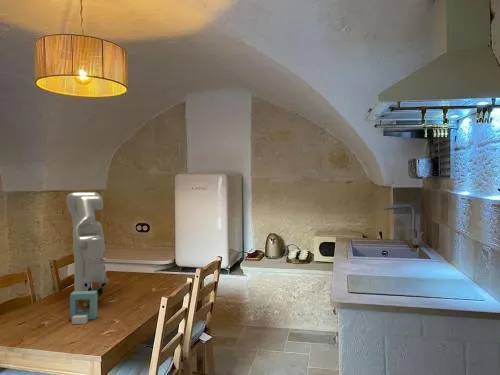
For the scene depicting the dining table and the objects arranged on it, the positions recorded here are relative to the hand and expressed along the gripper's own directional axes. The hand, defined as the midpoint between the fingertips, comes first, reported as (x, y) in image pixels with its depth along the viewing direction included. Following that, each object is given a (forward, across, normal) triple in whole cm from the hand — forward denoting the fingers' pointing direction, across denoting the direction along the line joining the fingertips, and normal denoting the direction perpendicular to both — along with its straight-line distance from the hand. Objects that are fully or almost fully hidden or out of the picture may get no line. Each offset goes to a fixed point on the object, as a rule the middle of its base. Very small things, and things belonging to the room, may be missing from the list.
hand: (95, 295), depth 210 cm
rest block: (+5, 0, +28) cm, 28 cm away
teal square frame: (+5, 0, +21) cm, 21 cm away
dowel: (+1, 0, +9) cm, 9 cm away
